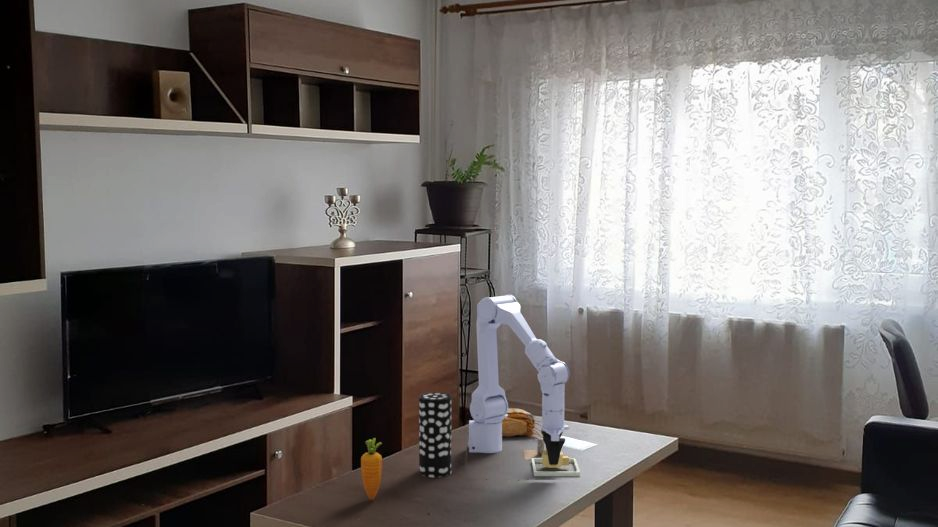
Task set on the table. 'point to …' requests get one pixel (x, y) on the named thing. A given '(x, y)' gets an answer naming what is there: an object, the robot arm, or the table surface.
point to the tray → (555, 473)
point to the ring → (562, 461)
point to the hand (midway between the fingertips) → (552, 460)
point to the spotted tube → (435, 434)
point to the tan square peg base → (535, 451)
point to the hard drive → (577, 444)
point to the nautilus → (518, 423)
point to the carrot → (371, 469)
